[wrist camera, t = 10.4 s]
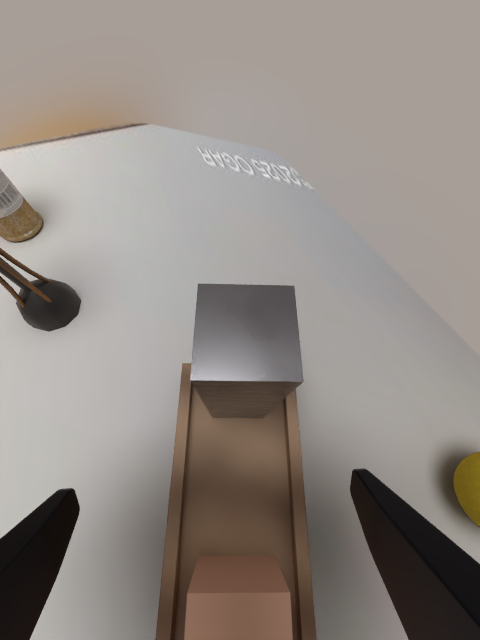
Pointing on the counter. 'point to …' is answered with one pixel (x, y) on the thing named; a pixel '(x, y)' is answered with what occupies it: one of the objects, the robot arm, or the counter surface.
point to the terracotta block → (238, 600)
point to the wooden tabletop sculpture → (40, 297)
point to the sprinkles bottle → (16, 213)
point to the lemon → (469, 486)
